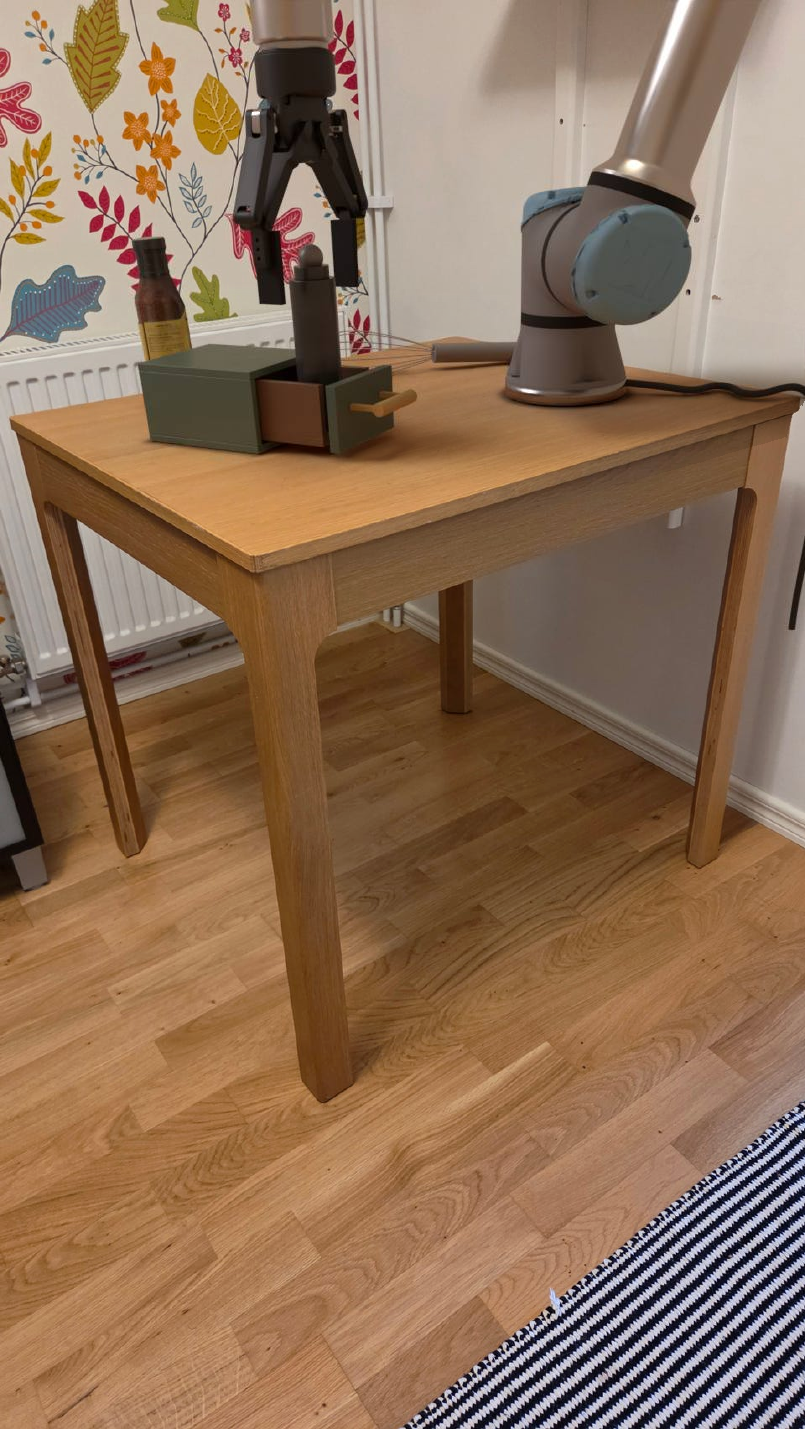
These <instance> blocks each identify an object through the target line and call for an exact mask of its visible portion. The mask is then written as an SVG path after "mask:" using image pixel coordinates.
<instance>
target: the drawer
mask: <svg viewBox="0 0 805 1429" xmlns="http://www.w3.org/2000/svg"><path fill="white" fill-rule="evenodd" d="M380 365H381V366H379V365H377V366H378V367H372V368H370V367H368V366H362V365H361V366H359V365H348V364H347V365H345V364H341V367H342V380H341V381H338V382H335V383H333V384H330V385H327V386H326V399H327V412H328V425H329V431H326V421H325V408H324V395H323V384H314V383H302V382H298V377H297V366H296V365H294V366H291V367H288V368H285V369H282V370H279V371H276V372H273V373H270V374H267V375H264V376H261V377H258V378H255V387H256V396H257V405H258V414H259V423H260V432H261V440H267V441H275V442H284V443H283V444H293V445H302V446H311V447H320V448H324V447H327V446H329V449H330V453H331V454H338V455H341V454H342V453H343V454H344V453H345V452H347V451H349V450H351V449H353V448H356V447H357V446H359V445H362V444H363V443H366V442H367V441H370V440H372V439H374V438H376V437H379V436H380V435H382V434H384V433H387V432H388V431H392V430H393V429H395V414H394V413H395V411H398V410H400V409H402V408H404V407H406V406H409V405H412V404H413V403H416V402H417V399H418V393H417V392H416V390H414V389H413V388H410V389H407V390H405V391H404V390H403V391H402V392H397V391H393V390H394V387H393V372H392V371H393V369H392V368H393V367H392V365H387V364H380Z"/></svg>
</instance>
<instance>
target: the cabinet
mask: <svg viewBox="0 0 805 1429" xmlns="http://www.w3.org/2000/svg"><path fill="white" fill-rule="evenodd" d="M294 365H296V355H295V348H283V347H268V346H254V345H253V346H252V345H250V346H249V345H238V344H237V345H235V344H222V343H206V344H203V345H199V346H196V347H192V349H188V350H185V351H181V352H178V353H174V354H170V355H167V356H163V357H159V358H156V359H152V360H148V361H145V360H144V361H142V362H138V363H137V369H138V375H139V380H140V386H141V392H142V393H141V394H142V398H143V404H144V410H145V417H146V422H147V427H148V434H149V439H150V441H151V442H158V443H167V444H174V445H183V446H189V447H196V448H197V447H198V448H206V449H213V450H222V451H229V452H236V453H237V452H238V453H247V454H253V455H260V454H263V453H265V452H267V451H269V450H272V449H274V448H277V447H279V446H281V445H283V444H285V443H284V442H275V441H267V440H261V432H260V423H259V414H258V405H257V396H256V387H255V378H258V377H261V376H264V375H267V374H270V373H273V372H276V371H279V370H282V369H285V368H288V367H291V366H294Z"/></svg>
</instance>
